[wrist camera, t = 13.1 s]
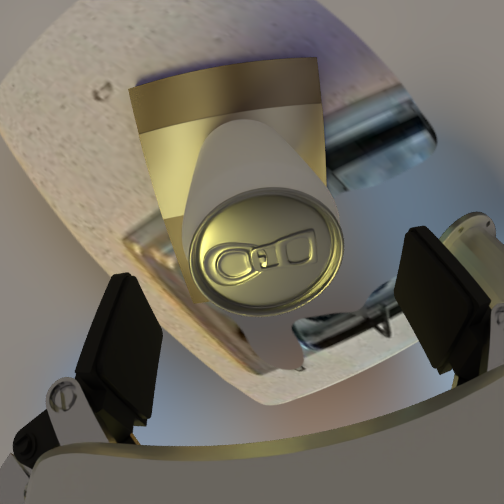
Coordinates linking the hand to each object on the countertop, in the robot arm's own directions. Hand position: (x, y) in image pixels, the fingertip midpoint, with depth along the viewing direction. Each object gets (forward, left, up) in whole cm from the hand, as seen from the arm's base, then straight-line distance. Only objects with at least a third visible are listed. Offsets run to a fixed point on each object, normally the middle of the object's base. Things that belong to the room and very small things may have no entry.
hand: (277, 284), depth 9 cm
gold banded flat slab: (+1, +3, -15) cm, 15 cm away
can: (0, 0, -13) cm, 13 cm away
